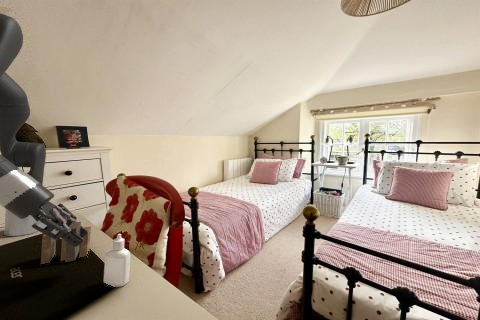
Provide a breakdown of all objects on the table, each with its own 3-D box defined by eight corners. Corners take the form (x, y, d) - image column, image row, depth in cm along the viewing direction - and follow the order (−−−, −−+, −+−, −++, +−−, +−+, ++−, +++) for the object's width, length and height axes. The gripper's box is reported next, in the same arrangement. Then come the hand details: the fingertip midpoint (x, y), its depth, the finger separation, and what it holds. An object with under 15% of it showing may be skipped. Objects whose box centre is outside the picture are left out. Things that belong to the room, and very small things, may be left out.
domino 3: (79, 259, 61) (80, 232, 61) (82, 252, 66) (83, 227, 65) (86, 258, 62) (88, 231, 62) (89, 251, 66) (90, 226, 66)
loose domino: (65, 261, 51) (67, 229, 50) (70, 252, 55) (72, 222, 55) (74, 260, 51) (76, 228, 51) (79, 251, 56) (80, 221, 56)
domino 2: (60, 262, 59) (62, 234, 59) (65, 254, 64) (66, 228, 63) (68, 261, 60) (70, 233, 60) (72, 253, 64) (74, 227, 64)
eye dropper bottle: (111, 292, 48) (114, 240, 48) (101, 282, 52) (104, 233, 51) (130, 283, 52) (133, 235, 52) (120, 274, 55) (123, 229, 55)
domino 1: (40, 265, 57) (42, 235, 57) (46, 256, 62) (48, 229, 62) (49, 263, 58) (51, 235, 58) (54, 255, 62) (56, 229, 62)
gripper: (23, 187, 43) (91, 238, 49) (47, 178, 56) (99, 219, 62) (-15, 214, 41) (60, 265, 47) (19, 198, 53) (75, 239, 59)
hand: (82, 239), depth 54 cm, fingers closed on loose domino, 5 cm apart
